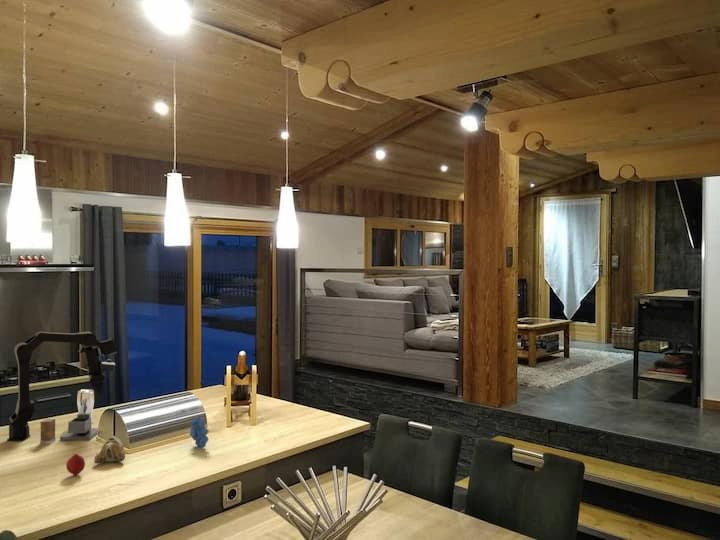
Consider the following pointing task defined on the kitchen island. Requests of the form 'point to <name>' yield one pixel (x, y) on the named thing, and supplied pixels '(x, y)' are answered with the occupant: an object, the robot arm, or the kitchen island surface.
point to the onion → (75, 464)
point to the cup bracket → (80, 428)
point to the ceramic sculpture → (111, 451)
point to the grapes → (199, 432)
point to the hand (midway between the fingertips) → (100, 392)
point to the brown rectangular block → (47, 431)
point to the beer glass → (85, 401)
